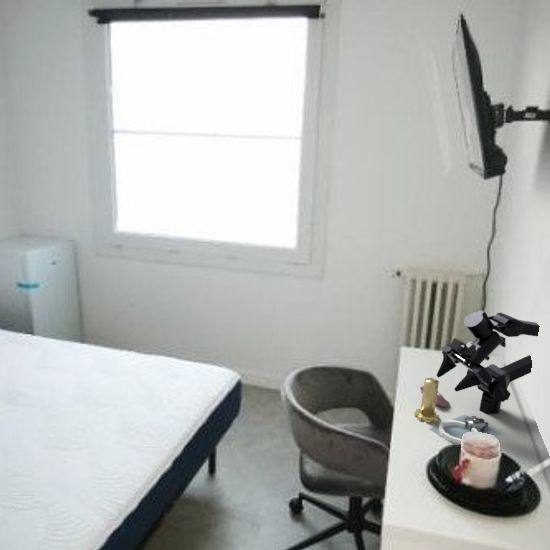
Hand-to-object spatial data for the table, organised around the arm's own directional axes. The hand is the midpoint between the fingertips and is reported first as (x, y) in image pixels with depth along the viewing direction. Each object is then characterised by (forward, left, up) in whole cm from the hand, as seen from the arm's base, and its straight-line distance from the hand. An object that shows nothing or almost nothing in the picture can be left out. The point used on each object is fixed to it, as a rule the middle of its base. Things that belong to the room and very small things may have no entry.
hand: (446, 383), depth 153 cm
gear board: (+1, +9, -12) cm, 15 cm away
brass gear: (+5, -2, -12) cm, 13 cm away
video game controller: (-6, -7, -12) cm, 15 cm away
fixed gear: (-4, +9, -11) cm, 15 cm away
